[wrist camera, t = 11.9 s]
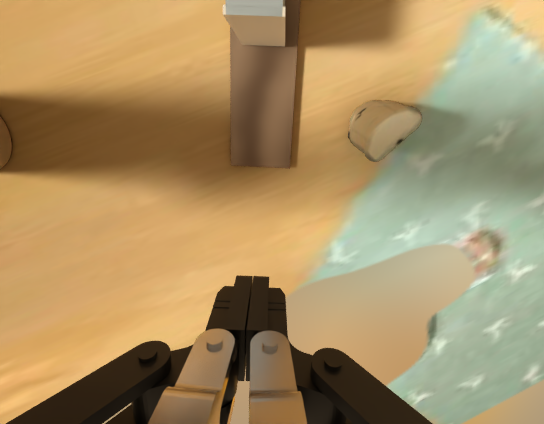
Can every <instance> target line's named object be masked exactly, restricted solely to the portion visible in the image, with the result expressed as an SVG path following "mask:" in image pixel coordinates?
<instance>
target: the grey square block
mask: <svg viewBox="0 0 544 424" xmlns="http://www.w3.org/2000/svg"><path fill="white" fill-rule="evenodd" d="M223 15H224V17H225V18H226V20H227V21H228V23H229V25H230V26H231V28H232V29H233V31H234V32H235V34H236V36H237V37H238V39H239V40H240V42H241V43H242V45H258V46H283V47H285V0H226V5H223Z"/></svg>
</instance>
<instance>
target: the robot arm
mask: <svg viewBox="0 0 544 424" xmlns="http://www.w3.org/2000/svg"><path fill="white" fill-rule="evenodd" d="M11 150H12V143H11V137H10V134H9V131H8V128H7V126H6V125H5V123H4V121H3V119H2V118H1V117H0V169H1V168H2V167H3V166H5V165H6V163H7V162H8V160H9V158H10V155H11ZM252 283H253V284H252ZM245 368H246V381H250V391H249V424H432V423H431V422H430V421H429V420H427V419H426V418H425V417H424V416H422V415H421V414H420V413H419V412H417V411H416V410H415V409H414V408H412V407H411V406H410V405H409V404H407V403H406V402H405V401H404V400H402V399H401V398H400V397H399V396H397V395H396V394H395V393H394V392H392V391H391V390H390V389H389V388H387V387H386V386H385V385H384V384H382V383H381V382H380V381H379V380H377V379H376V378H375V377H374V376H372V375H371V374H370V373H369V372H367V371H366V370H365V369H364V368H362V367H361V366H360V365H359V364H357V363H356V362H355V361H354V360H353V359H351V358H350V357H349V356H348V355H346V354H345V353H343V352H342V351H339V350H337V349H333V348H323V349H320V350H318V351H316V352H315V354H314V355H310V354H306V353H303V352H301V351H299V350H297V349H296V348H294V347H293V346H292V345H291V343H290V342H289V340H288V336H287V318H286V301H285V294H284V293H283V291H282V290H281V289H280V288H269V277H263V276H254V277H252V276H236V280H235V284H234V286H224V287H223V288H222V289H221V290H220V291H219V292H218V293H217V296H216V299H215V302H214V305H213V309H212V312H211V315H210V318H209V321H208V324H207V327H206V330H205V332H203V333H202V334H200V335H199V336H198V337H197V339H196V341H195V343H194V345H192V346H189V347H187V348H183V349H178V350H174V351H170V348H169V346H168V345H167V344H166V343H164V342H161V341H149V342H145V343H142V344H140V345H138V346H136V347H135V348H133V349H131V350H130V351H128V352H126V353H125V354H123V355H121V356H119V357H118V358H116V359H114V360H113V361H111V362H109V363H108V364H106V365H104V366H103V367H101V368H99V369H97V370H96V371H94V372H92V373H91V374H89V375H87V376H86V377H84V378H82V379H81V380H79V381H77V382H75V383H74V384H72V385H70V386H69V387H67V388H65V389H64V390H62V391H60V392H59V393H57V394H55V395H53V396H52V397H50V398H48V399H47V400H45V401H43V402H42V403H40V404H38V405H37V406H35V407H33V408H31V409H30V410H28V411H26V412H25V413H23V414H21V415H20V416H18V417H16V418H14V419H13V420H11V421H9V422H8V423H6V424H102V423H104V422H105V421H106V420H108V419H109V418H110V417H112V416H113V415H115V414H116V413H117V412H119V411H120V410H121V409H123V408H124V407H125V406H127V405H128V404H130V403H132V404H131V405H130V406H128V407H127V408H126V409H124V410H123V411H122V412H120V413H119V414H118V415H116V416H115V417H114V418H112V419H111V420H110V421H108V422H107V423H106V424H230V421H231V415H232V411H233V407H234V402H235V393H236V390H237V383H238V381H244V377H245Z"/></svg>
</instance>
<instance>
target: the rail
mask: <svg viewBox="0 0 544 424" xmlns="http://www.w3.org/2000/svg"><path fill="white" fill-rule="evenodd" d="M299 14H300V0H285V47H283V46H258V45H242V43H241V42H240V40H239V39H238V37H237V36H236V34H235V32H234V31H233V29H232V28H231V26H230V55H231V165H235V166H255V167H275V168H290V157H291V141H292V125H293V110H294V94H295V78H296V62H297V46H298V30H299Z"/></svg>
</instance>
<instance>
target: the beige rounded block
mask: <svg viewBox="0 0 544 424" xmlns="http://www.w3.org/2000/svg"><path fill="white" fill-rule="evenodd" d="M421 121H422V115H421V112H420V111H419V110H418V109H417V108H414V107H412V106H405V105H403V104H400V103H398V102H394V101H389V100H385V101H382V100H372V101H368V102H365V103H363V104H362V105H360V106H359V107H357V108H356V109H355V110H354V111H353V113H352V115H351V118H350V130H349V133H348V138H349V139H350V141H351V143H352V144H353V145H354V146H356V147H357V148H358V149H359V150H360V151H362V152H363V153H364V154H365V156H366V157H367V158H368V159H369V160H370V161H373V162H376V161H380V160H381V159H383V158H384V157H385V156H386V155H387V154H388V153H389V152H390V151H392V150H393V149H394V148H395V147H396V146H397V145H399V144H400V143H401V142H402V141H403V140H404V139H406V138H407V137H408V136H409V135H410V134H411V133H412V132H414V131H415V130H416V129H417V128H418V127H419V126H420V124H421Z"/></svg>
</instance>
